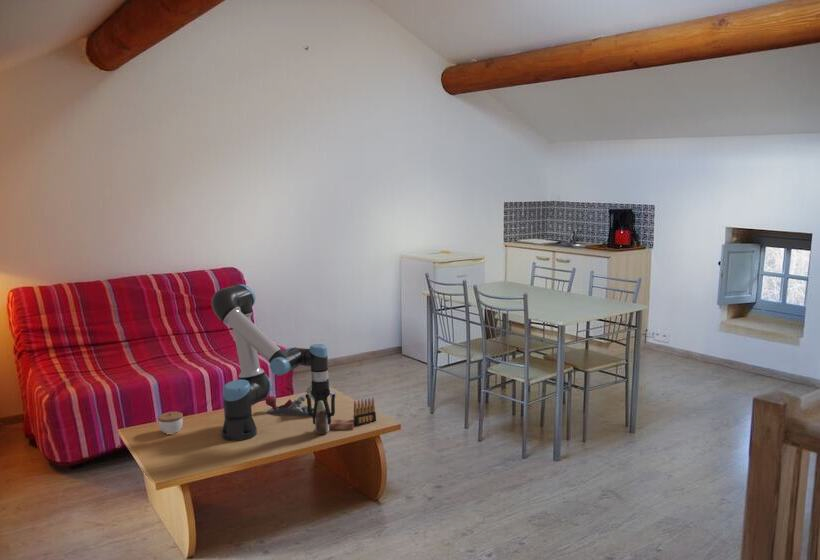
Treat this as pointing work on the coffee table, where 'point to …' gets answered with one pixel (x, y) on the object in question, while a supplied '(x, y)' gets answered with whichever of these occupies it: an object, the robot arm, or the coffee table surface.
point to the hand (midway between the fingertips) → (322, 430)
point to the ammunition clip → (364, 412)
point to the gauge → (321, 421)
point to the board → (341, 424)
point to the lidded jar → (170, 422)
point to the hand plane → (292, 406)
